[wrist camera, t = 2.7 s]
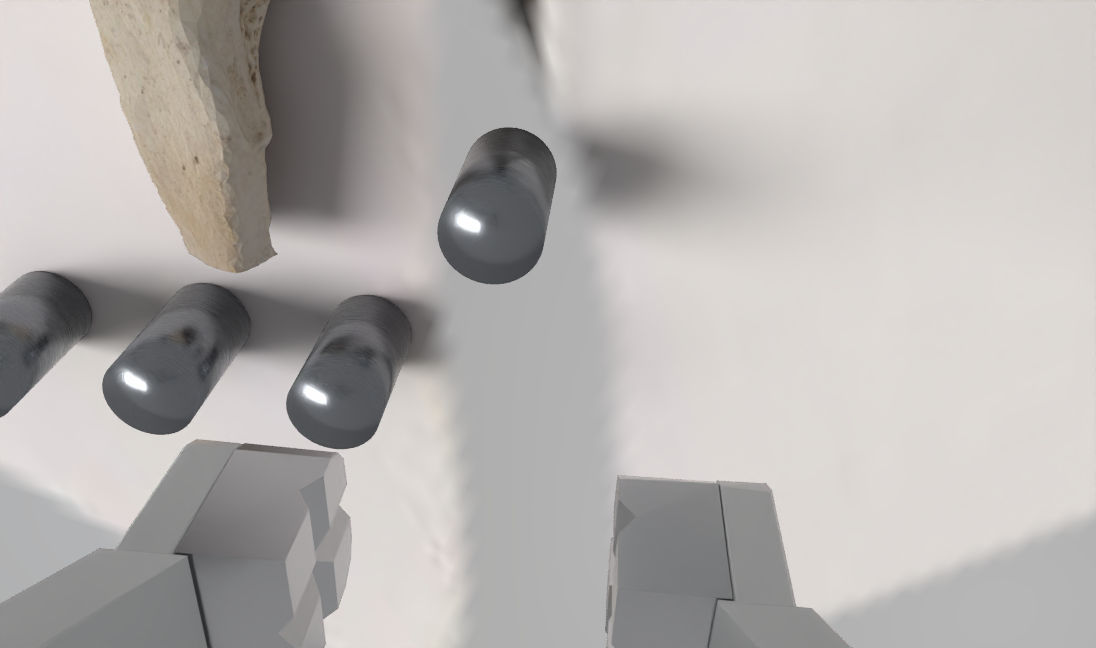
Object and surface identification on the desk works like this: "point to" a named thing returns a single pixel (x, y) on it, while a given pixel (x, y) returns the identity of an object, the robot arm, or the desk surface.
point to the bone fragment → (197, 116)
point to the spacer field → (345, 344)
